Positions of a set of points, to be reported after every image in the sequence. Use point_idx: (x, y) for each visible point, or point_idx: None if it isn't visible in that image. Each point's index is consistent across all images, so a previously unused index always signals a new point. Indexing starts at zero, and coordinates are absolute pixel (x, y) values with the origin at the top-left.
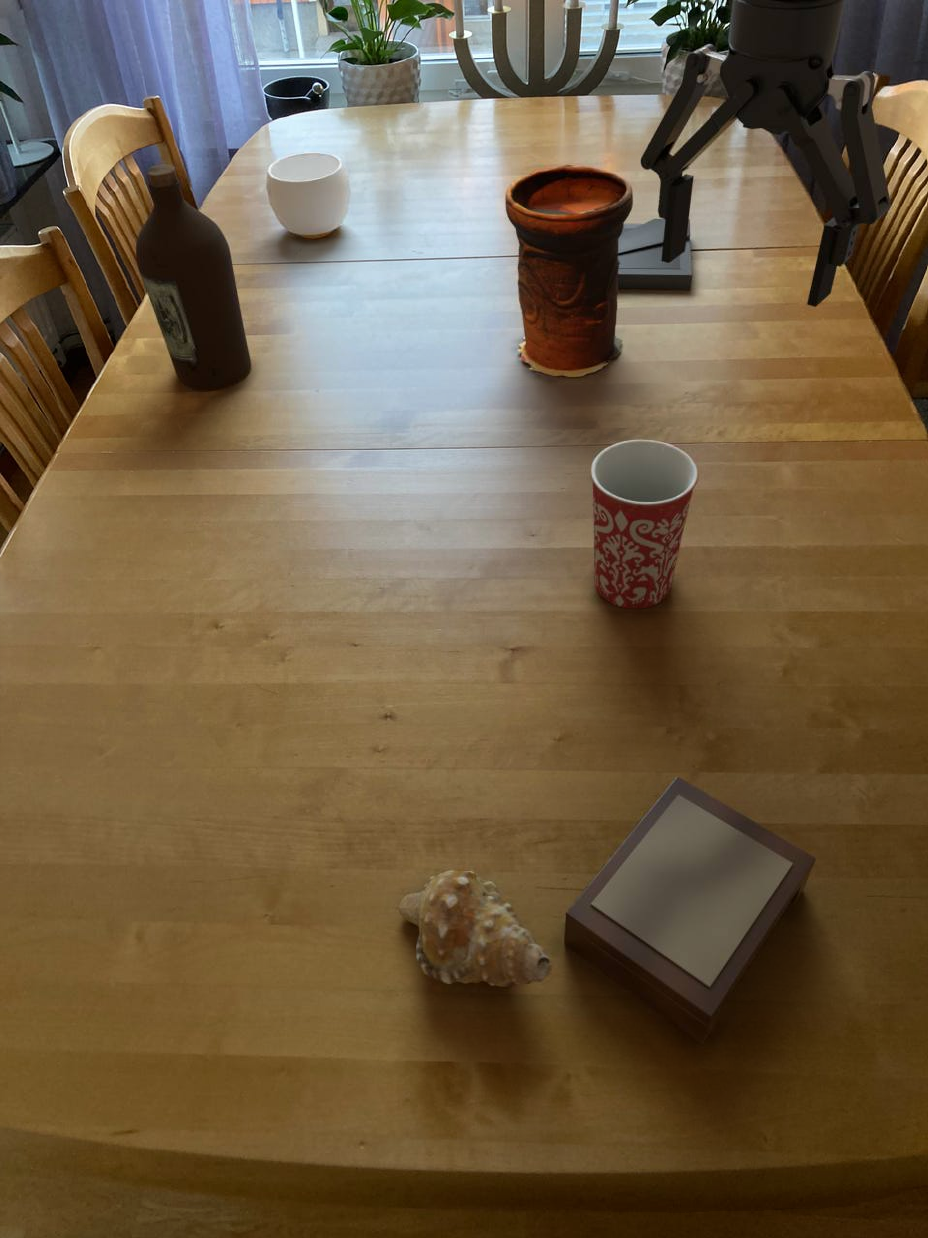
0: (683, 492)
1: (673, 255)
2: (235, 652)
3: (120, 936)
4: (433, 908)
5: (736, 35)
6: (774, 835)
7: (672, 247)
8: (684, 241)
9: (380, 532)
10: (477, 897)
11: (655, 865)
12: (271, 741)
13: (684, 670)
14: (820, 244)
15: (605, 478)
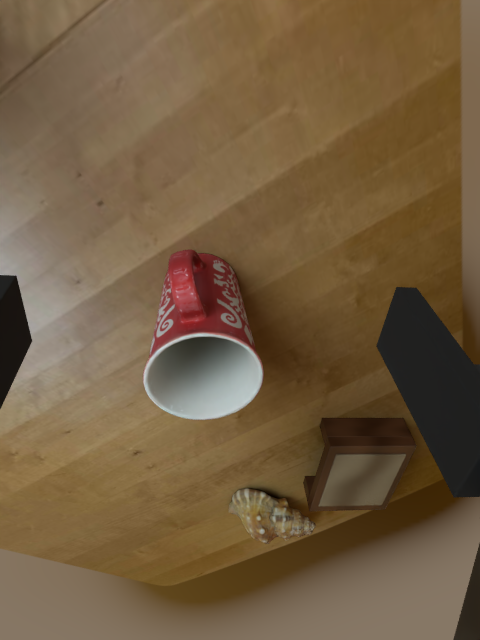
0: (258, 385)
1: (24, 332)
2: (11, 469)
3: (134, 555)
4: (257, 539)
5: None
6: (392, 446)
7: (19, 356)
8: (8, 301)
9: None
10: (270, 526)
11: (339, 484)
12: (95, 489)
13: (286, 338)
14: (431, 449)
15: (156, 360)
